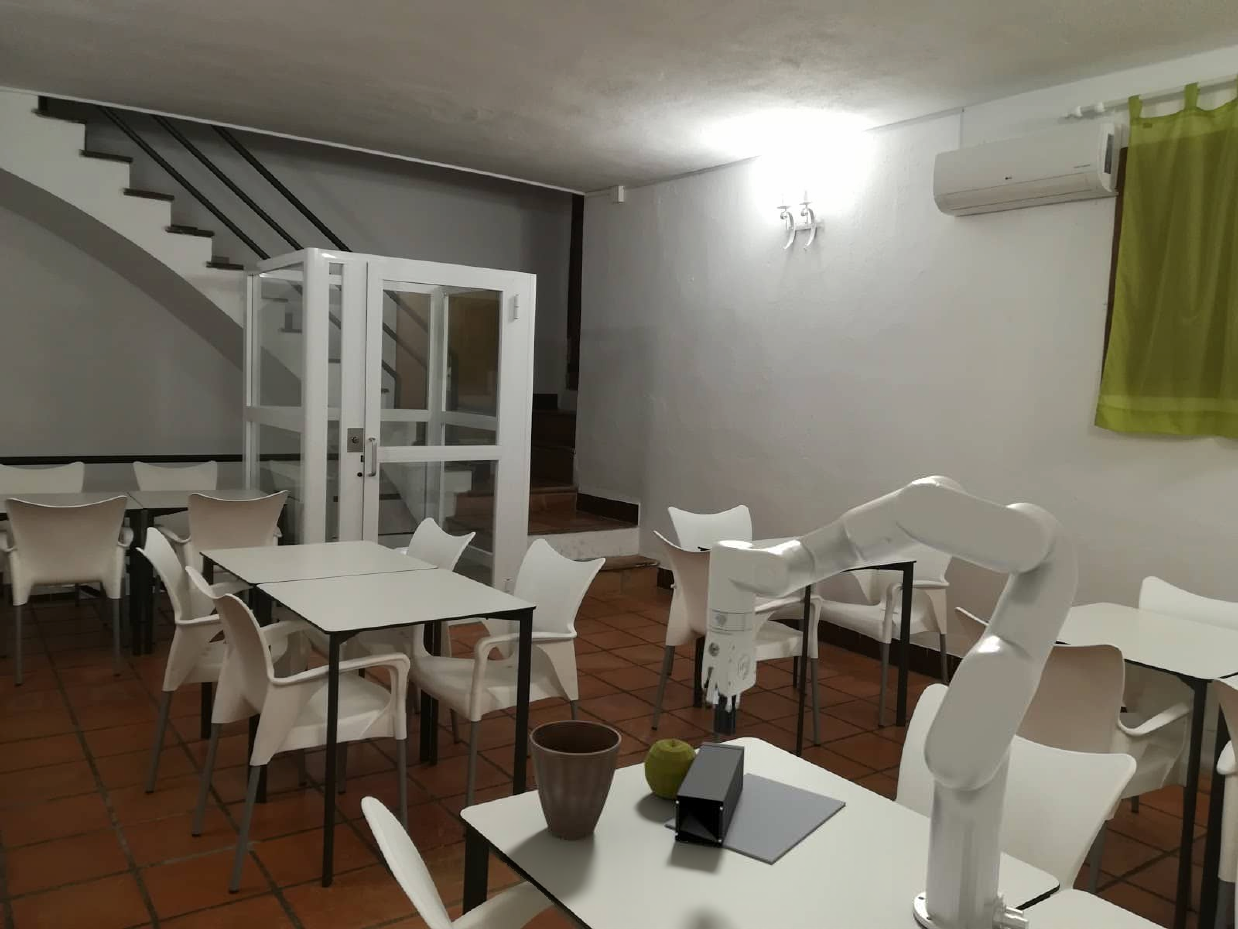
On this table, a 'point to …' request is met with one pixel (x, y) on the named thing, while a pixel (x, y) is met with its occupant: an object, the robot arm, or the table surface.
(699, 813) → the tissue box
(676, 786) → the apple
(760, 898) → the table surface
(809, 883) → the table surface
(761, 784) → the mat
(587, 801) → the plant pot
